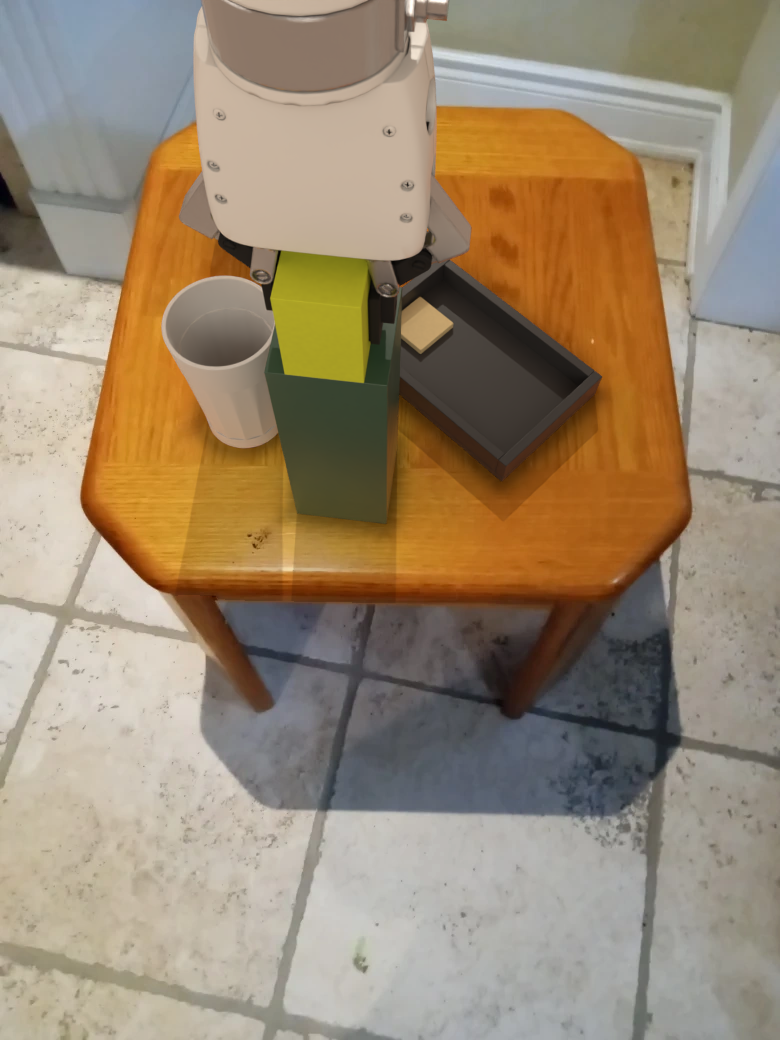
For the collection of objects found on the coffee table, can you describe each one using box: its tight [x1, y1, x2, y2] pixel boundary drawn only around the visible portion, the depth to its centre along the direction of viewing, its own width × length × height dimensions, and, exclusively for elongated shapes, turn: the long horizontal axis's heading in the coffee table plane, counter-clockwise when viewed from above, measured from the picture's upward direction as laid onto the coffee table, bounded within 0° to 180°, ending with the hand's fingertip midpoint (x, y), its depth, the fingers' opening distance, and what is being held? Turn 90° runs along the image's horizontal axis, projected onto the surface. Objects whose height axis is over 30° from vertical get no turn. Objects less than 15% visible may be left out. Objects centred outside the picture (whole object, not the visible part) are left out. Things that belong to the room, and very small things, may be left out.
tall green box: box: [264, 286, 403, 525], centre depth 56 cm, size 7×7×19 cm
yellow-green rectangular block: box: [270, 250, 371, 383], centre depth 44 cm, size 4×7×6 cm, turn 173°
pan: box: [399, 259, 603, 483], centre depth 67 cm, size 18×12×3 cm, turn 45°
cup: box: [160, 275, 278, 449], centre depth 61 cm, size 8×8×12 cm
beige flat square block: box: [401, 297, 453, 354], centre depth 69 cm, size 4×4×1 cm
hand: (332, 316), depth 46 cm, fingers closed on yellow-green rectangular block, 4 cm apart
